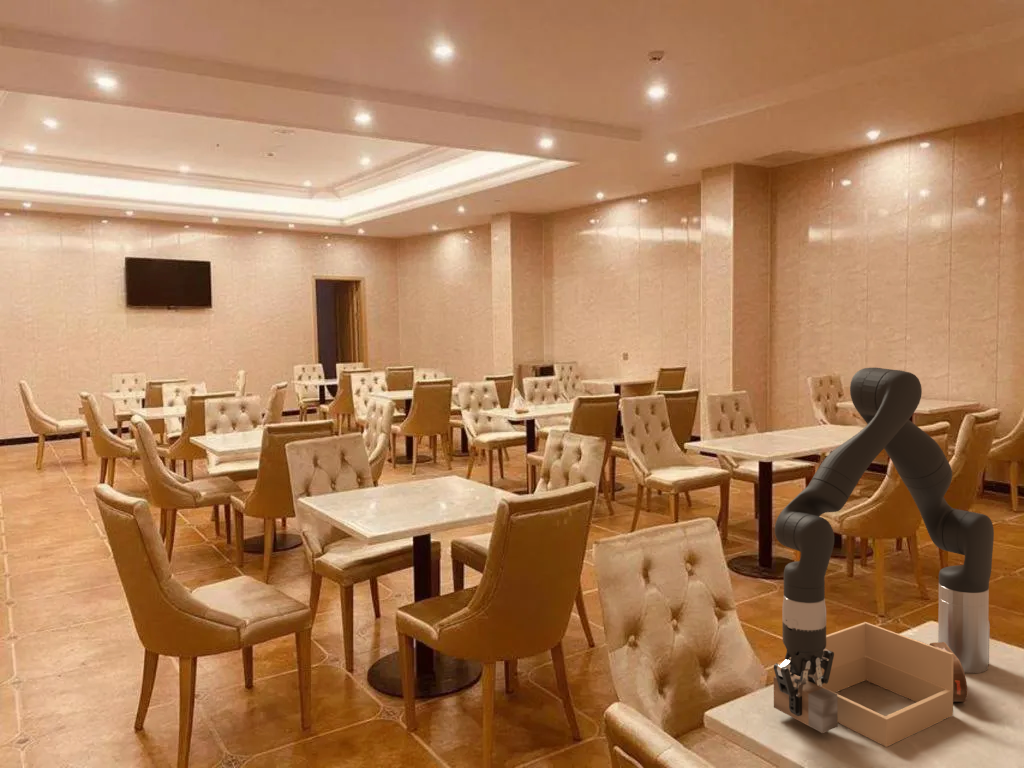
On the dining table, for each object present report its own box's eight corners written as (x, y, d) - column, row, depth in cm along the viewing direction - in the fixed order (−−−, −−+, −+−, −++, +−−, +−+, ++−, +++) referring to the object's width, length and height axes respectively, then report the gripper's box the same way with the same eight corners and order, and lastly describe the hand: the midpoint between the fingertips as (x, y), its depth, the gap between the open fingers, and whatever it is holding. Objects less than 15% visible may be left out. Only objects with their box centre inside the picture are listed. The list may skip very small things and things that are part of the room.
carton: (864, 677, 162) (865, 621, 161) (952, 715, 146) (953, 653, 145) (800, 703, 153) (799, 644, 152) (886, 746, 137) (886, 680, 136)
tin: (968, 710, 148) (969, 667, 147) (950, 709, 149) (951, 666, 148) (942, 674, 163) (942, 635, 162) (925, 673, 163) (925, 634, 163)
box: (788, 701, 150) (788, 671, 149) (837, 726, 140) (837, 694, 140) (773, 707, 148) (773, 676, 147) (822, 733, 138) (822, 700, 138)
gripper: (813, 606, 149) (813, 692, 151) (760, 622, 142) (761, 712, 144) (847, 618, 143) (847, 708, 144) (793, 636, 136) (794, 730, 137)
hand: (804, 710), depth 144 cm, fingers closed on box, 4 cm apart
